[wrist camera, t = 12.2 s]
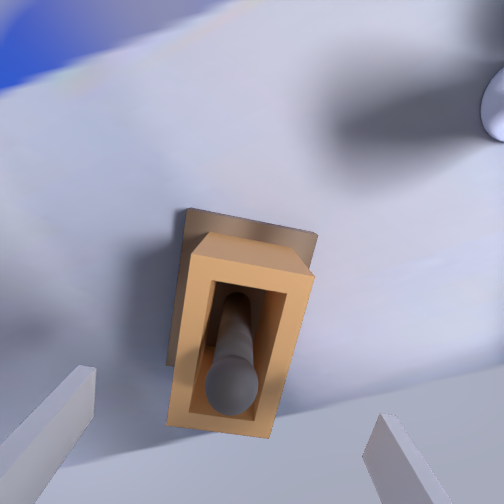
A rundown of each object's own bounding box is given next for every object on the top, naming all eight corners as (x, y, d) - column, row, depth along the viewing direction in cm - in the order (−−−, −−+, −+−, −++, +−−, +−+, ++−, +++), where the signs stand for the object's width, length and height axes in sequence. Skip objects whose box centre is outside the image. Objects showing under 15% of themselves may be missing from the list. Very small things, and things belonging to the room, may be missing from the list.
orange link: (209, 231, 20) (191, 253, 13) (291, 247, 20) (314, 276, 14) (189, 355, 23) (166, 425, 16) (262, 366, 23) (269, 438, 16)
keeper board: (313, 232, 22) (392, 281, 10) (276, 370, 25) (302, 525, 14) (191, 207, 21) (122, 230, 9) (170, 354, 24) (102, 505, 13)
